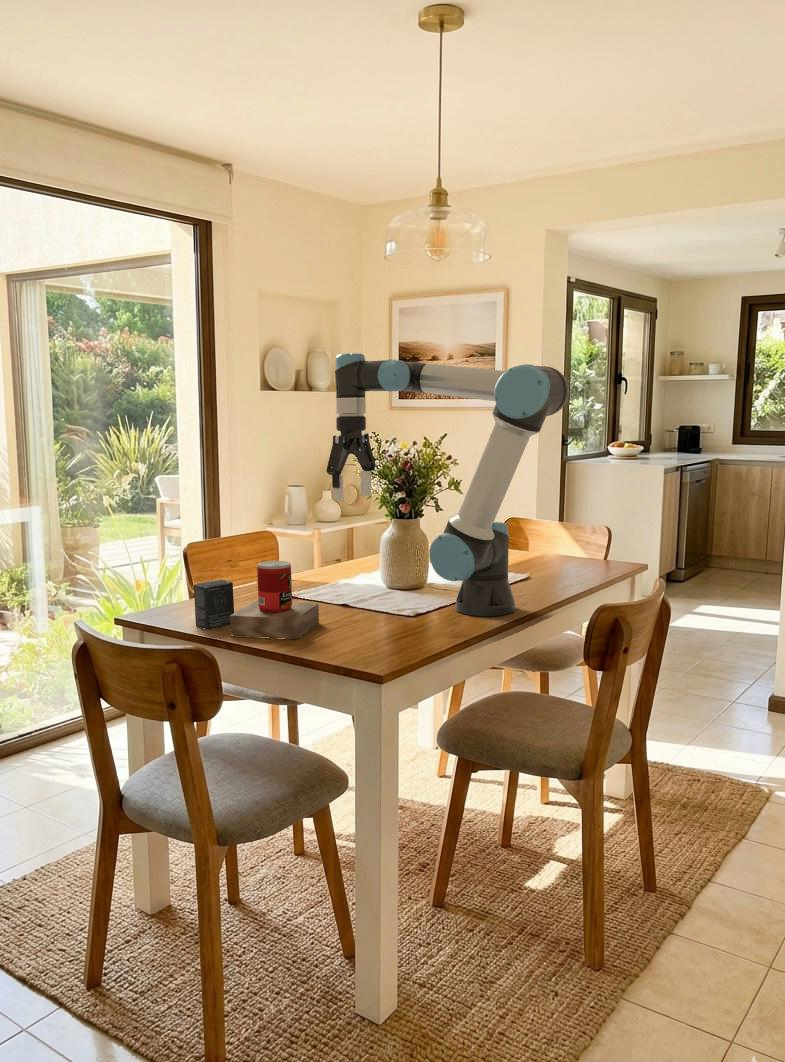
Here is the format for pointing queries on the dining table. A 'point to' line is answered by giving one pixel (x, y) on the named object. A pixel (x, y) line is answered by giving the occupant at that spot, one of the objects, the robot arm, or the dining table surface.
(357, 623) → the dining table surface
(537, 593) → the dining table surface
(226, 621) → the box
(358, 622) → the dining table surface
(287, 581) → the canned food
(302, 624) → the brown wooden block
